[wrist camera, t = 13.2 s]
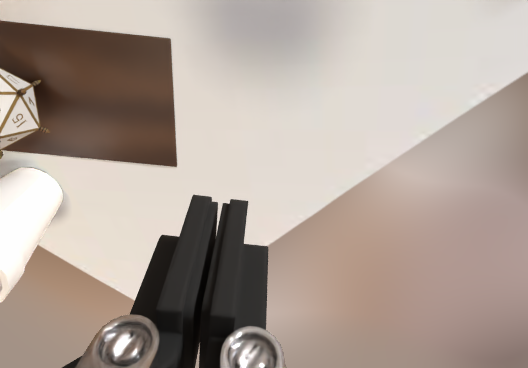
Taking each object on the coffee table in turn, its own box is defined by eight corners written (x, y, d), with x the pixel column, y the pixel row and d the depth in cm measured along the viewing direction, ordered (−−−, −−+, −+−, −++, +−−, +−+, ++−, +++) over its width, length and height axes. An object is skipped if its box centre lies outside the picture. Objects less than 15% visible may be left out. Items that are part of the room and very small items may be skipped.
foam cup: (-10, 202, 44) (-104, 286, 33) (-4, 142, 39) (-112, 217, 28) (69, 230, 46) (5, 318, 35) (83, 177, 41) (14, 259, 30)
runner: (-99, 10, 32) (-100, 10, 32) (170, 38, 32) (170, 38, 32) (-41, 145, 39) (-42, 145, 39) (176, 166, 40) (176, 166, 40)
